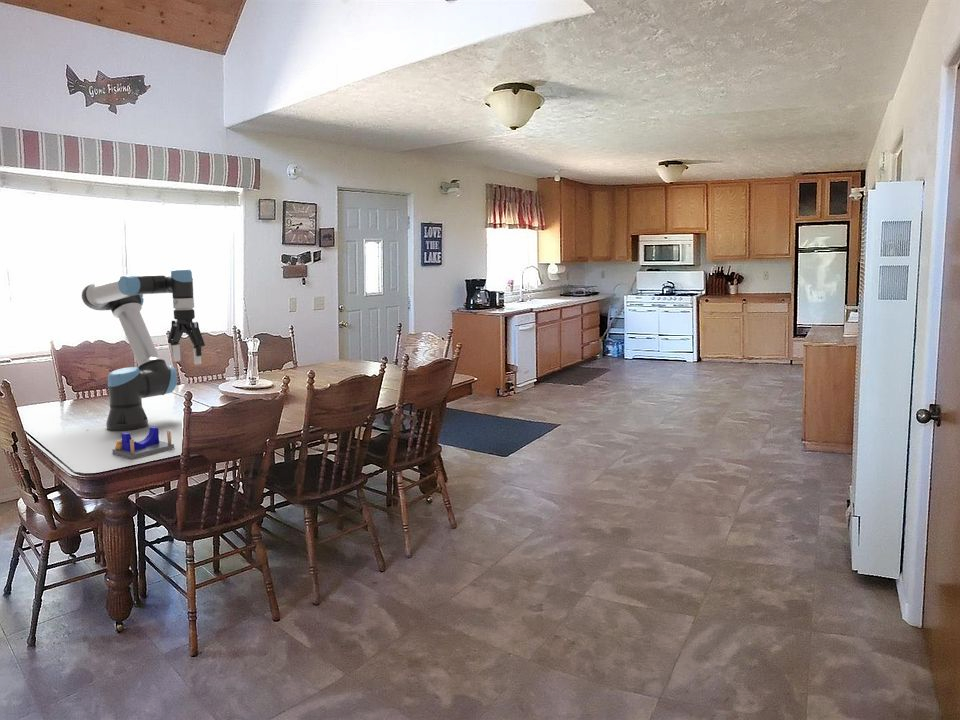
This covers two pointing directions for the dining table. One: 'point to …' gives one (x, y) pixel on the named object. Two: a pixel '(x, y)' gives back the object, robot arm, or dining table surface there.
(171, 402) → the dining table surface
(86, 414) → the dining table surface
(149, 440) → the blue u-shaped block
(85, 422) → the dining table surface
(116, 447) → the wire nut
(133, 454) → the junction plate
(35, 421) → the dining table surface
